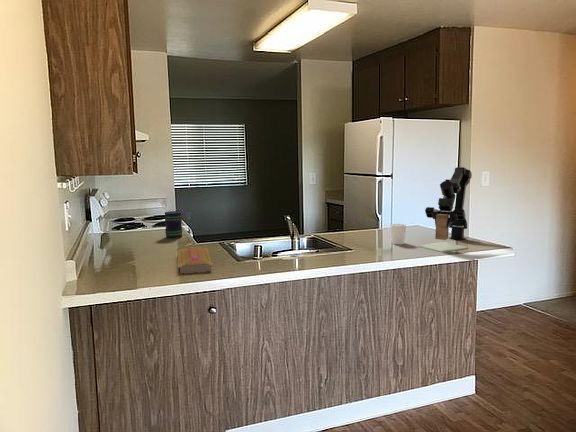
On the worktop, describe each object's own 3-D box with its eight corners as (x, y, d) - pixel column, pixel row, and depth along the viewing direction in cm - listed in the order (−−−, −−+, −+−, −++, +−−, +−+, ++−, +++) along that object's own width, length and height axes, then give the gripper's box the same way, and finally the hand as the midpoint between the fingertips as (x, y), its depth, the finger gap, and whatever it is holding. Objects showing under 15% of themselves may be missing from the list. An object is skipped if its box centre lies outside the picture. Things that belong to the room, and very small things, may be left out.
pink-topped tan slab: (177, 257, 226) (177, 244, 225) (207, 255, 230) (207, 242, 229) (178, 275, 192) (177, 261, 192) (213, 272, 196) (213, 258, 195)
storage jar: (162, 237, 275) (160, 212, 273) (174, 235, 283) (173, 210, 281) (174, 239, 270) (173, 213, 267) (186, 236, 278) (185, 211, 276)
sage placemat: (443, 242, 249) (443, 241, 249) (467, 248, 235) (467, 247, 235) (418, 246, 241) (418, 245, 241) (441, 252, 227) (441, 251, 227)
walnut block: (438, 237, 235) (438, 213, 233) (448, 238, 232) (449, 214, 231) (435, 239, 231) (436, 215, 229) (445, 240, 228) (446, 215, 226)
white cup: (404, 241, 253) (404, 223, 252) (406, 244, 246) (407, 226, 244) (389, 241, 254) (389, 223, 253) (391, 244, 246) (391, 226, 245)
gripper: (426, 191, 237) (419, 215, 229) (465, 192, 226) (458, 218, 219) (430, 205, 244) (423, 229, 237) (467, 206, 234) (462, 232, 227)
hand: (441, 226), depth 229 cm, fingers closed on walnut block, 5 cm apart
